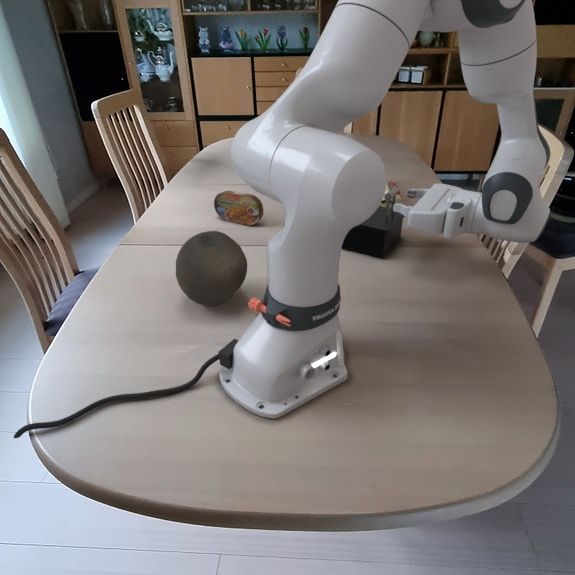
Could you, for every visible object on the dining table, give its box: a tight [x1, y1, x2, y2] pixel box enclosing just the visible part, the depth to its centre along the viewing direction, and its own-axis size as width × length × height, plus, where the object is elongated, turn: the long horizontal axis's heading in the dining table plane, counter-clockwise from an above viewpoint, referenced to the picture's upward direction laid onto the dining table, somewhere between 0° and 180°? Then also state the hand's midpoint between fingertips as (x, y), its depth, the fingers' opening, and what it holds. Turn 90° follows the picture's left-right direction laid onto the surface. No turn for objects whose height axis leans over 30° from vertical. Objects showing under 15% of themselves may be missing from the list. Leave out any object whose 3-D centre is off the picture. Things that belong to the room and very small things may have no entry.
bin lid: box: [356, 185, 405, 234], centre depth 108 cm, size 16×13×8 cm
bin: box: [341, 218, 404, 260], centre depth 113 cm, size 16×13×7 cm
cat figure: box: [379, 180, 402, 208], centre depth 137 cm, size 10×9×25 cm
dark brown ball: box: [175, 230, 248, 306], centre depth 90 cm, size 14×14×15 cm
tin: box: [213, 190, 264, 226], centre depth 124 cm, size 15×3×8 cm, turn 62°
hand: (401, 199), depth 104 cm, fingers open, 8 cm apart
